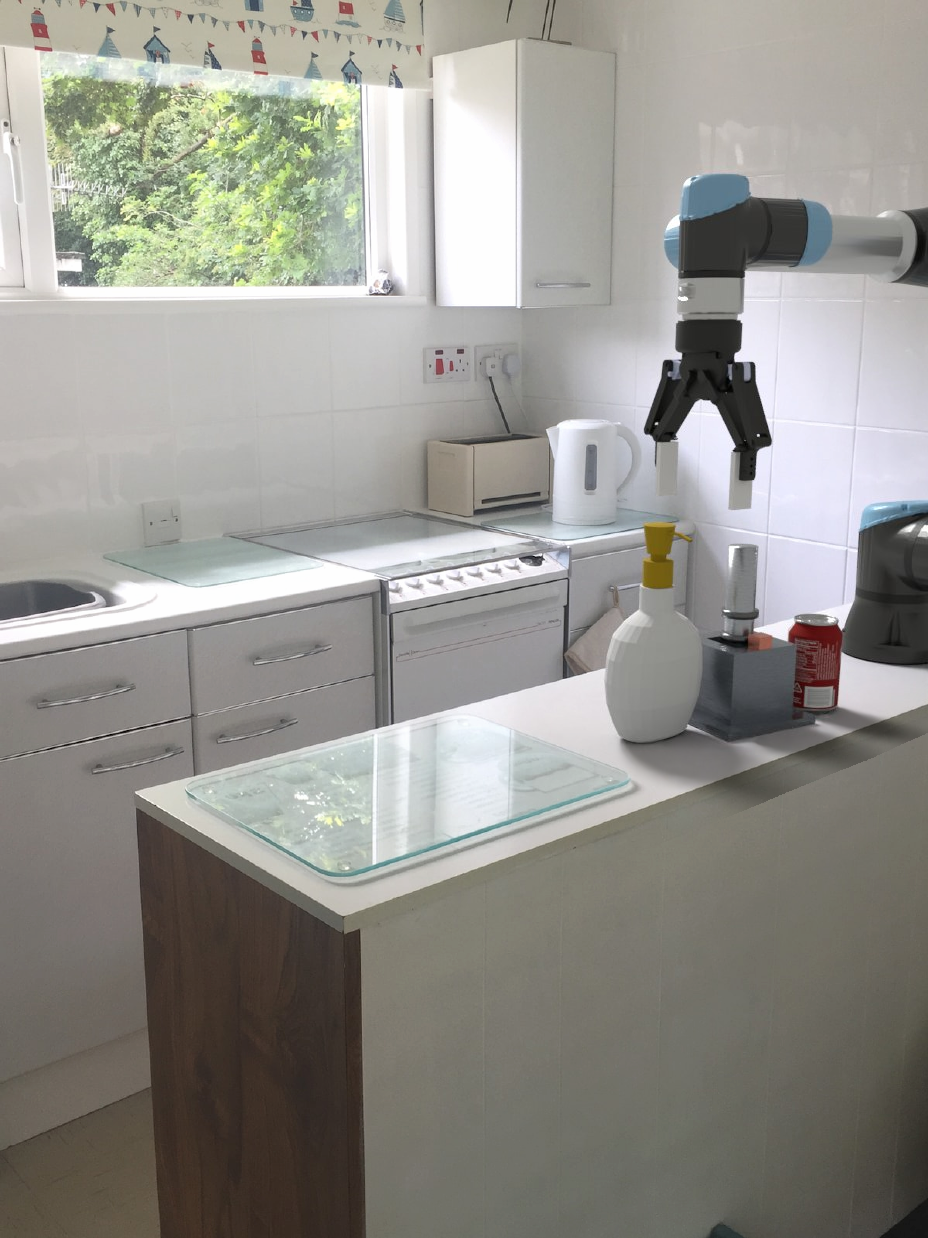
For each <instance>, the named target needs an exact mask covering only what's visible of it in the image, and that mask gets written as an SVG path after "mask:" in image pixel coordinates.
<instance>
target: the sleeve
mask: <svg viewBox="0 0 928 1238" xmlns="http://www.w3.org/2000/svg"><path fill="white" fill-rule="evenodd" d="M720 631H721V630H716V631H711V632H709V631H708V632H705V633H699V636H700V640H701V644H702V662H703V671H702V678H701V684H700V691H699V696H698V699H697V702H696V704H695V707H694V710H693V713H692V715H691V718H690V720H689V722H688V725H691V726H693V727H695V728H697V729H700V730H702V731H704V732H706V733H708V734H711V735H713V736H715V737H717V738H720V739H722V740H724V741H727V742H732V741H736V740H741V739H745V738H751V737H755V736H761V735H765V734H770V733H776V732H780V731H784V730H790V729H793V728H799V727H804V726H810V725H815V724H816V717H817V716H816V714H810V713H807V712H805V711H802V710H799V709H797V708H794V707H793V696H794V680H795V665H796V649H797V644H794V643H791V642H787V641H788V640H785V639H784V640H783V639H780V638H777V637H774V636H773V635H771V634H768V633H766V632H765V633H764V632H761V631H759V632H758V631H756V632H757V633H752V634H749V638H748V646H747V647H741V648H734V647H731V646H728V645H725V644H724V641H722V640H721V639H720Z"/></svg>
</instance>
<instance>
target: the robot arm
mask: <svg viewBox="0 0 928 1238" xmlns="http://www.w3.org/2000/svg"><path fill="white" fill-rule="evenodd" d="M663 249H664V252H665V256H666V258H667V260H668V262H669V263H670V264H671V265H672V266H673V267H674V268H676V269H677V271H678V273H677V275H678V276H677V278H678V280H677V281H678V283H677V301H676V303H677V304H676V313H677V314H678V315H682V316H681V319H682V320H681V319H678V320H677V322H675V340H674V341H675V343H674V349H675V351H676V352H677V353H680V354H681V359H679V358H678V359H674V358H673V359H664V360H663V362H662V366H661V376H660V381H659V383H658V386H657V389H656V391H655V394H654V398H653V400H652V403H651V406H650V409H649V413H648V415H647V418H646V421H645V425H644V427H643V433H644V435H646V436H651V438H652V440H653V442H654V443H655V444H654V445H655V446H654V466H655V492H654V493H655V494H654V496H657V497H663V496H674V495H675V496H676V495H677V489H678V488H677V487H678V468H679V467H678V466H679V465H678V463H679V461H678V460H679V459H678V458H679V441H678V440H679V438H678V436H677V434H678V432H679V431H680V428H681V427H682V426H683V424H684V422H685V420H686V419H687V418H688V417H687V416H688V415H689V414H690V411H691V410H692V409H693V407H694V406H695V404H696V403H697V402H699V401H700V400H702V401H704V402H705V401H710V403H711V404H712V405H714V406H716V408H717V411H718V412H719V414H720V417H721V420H722V421H723V423H724V426H725V427H726V429H727V432H728V433H729V435H730V437H731V439H732V441H733V444H734V446H735V447H734V448H733V449H732V451H730V471H729V489H728V507H727V508H728V510H730V511H739V510H750V509H752V500H753V499H752V495H753V483H754V482H753V481H755V478H756V475H757V472H756V469H757V460H758V459H757V458H758V457H757V456H758V451H760V450H761V449H764V448H768V447H771V446H772V443H773V438H772V435H771V432H770V427H769V424H768V421H767V418H766V417H767V416H766V414H765V410H764V407H763V406H764V405H763V403H762V398H761V395H760V391H759V388H758V385H757V381H756V380H757V379H756V377H757V373H756V372H757V371H756V363H755V362H754V361H735V355H736V353H739V352H740V351H741V349H742V344H743V343H742V340H743V325H744V324H743V322H741V321H742V320H741V319H738V316H739V315H743V313H744V309H745V307H744V306H745V285H746V284H745V283H746V279H745V278H746V272H771V273H773V272H775V273H800V274H801V273H804V274H806V273H807V274H808V273H809V274H841V275H868V276H869V277H870V278H871V279H872V280H874V281H875V282H878V283H884V284H885V283H886V284H887V283H888V284H901V285H908V286H916V287H923V288H928V206H927V207H922V208H921V207H920V208H914V209H908V210H907V209H906V210H905V209H903V210H899V209H897V210H896V209H890V210H885V211H883V212H881V213H879V214H878V215H876V216H867V215H866V216H864V215H863V216H861V215H847V214H846V215H844V214H830V211H829V210H828V208H827V207H826V206H825V205H823V204H822V203H820V202H818V201H814V200H807V199H804V198H802V197H798V198H797V199H796V198H777V197H775V198H774V197H756V196H752V193H751V191H750V180H749V177H747V176H745V175H743V174H742V175H741V174H739V173H708V174H698V175H693V176H691V177H689V178H688V179H686V180H685V181H684V183H683V186H682V190H681V197H680V207H679V213H678V214H677V215H676V216H674V217H672V219H671V220H670V221H669V222H668V225H667V226H666V229H665V231H664V236H663ZM656 423H657V424H656ZM758 435H759V436H758ZM857 540H858V542H857V543H858V544H857V558H856V560H857V561H856V574H855V575H856V576H855V591H854V592H855V593H854V600H853V602H852V606H851V607H850V610H849V613H848V614H847V616H846V617H847V618H846V620H845V623H844V627H843V628H842V629H841V631H842V633H843V640H842V652H843V653H844V654H847V655H849V656H851V657H855V658H859V659H862V660H868V661H873V662H880V663H888V664H902V665H904V664H905V665H906V664H907V665H908V664H909V665H910V664H913V665H915V664H925V663H926V664H927V663H928V499H921V500H920V499H919V500H917V499H916V500H897V501H896V500H895V501H885V502H884V501H883V502H875V503H870V504H868V505H867V506H865V508H864V509H863V510H862V513H861V519H860V525H859V528H858V539H857Z"/></svg>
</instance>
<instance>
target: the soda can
mask: <svg viewBox="0 0 928 1238" xmlns="http://www.w3.org/2000/svg"><path fill="white" fill-rule="evenodd" d="M793 620H794V622H793V623H792V624H791V626H789V628H788V630H787V640H786V641H787V642H791V643H794V644H797V649H796V665H795V680H794V696H793V707H794V708H797V709H799V710H802V711H805V712H807V713H810V714H813V715H819V714H826V713H829V712H830V711H832V710H834V709H836V708H837V707H838V704H839V691H840V678H841V664H842V663H841V662H842V652H843V651H842V640H843V633H842V629H841V628H840V626H839V622H840V620H839V618H837V617H836V616H832V615H828V614H823V613H801V614H797V615H795V616H794V617H793Z"/></svg>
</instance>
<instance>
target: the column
mask: <svg viewBox="0 0 928 1238" xmlns="http://www.w3.org/2000/svg"><path fill="white" fill-rule="evenodd" d="M727 548H728V550H727V569H726V587H725V588H726V591H725V606H722V607H721V608H720V617H723V618H724V628H723V629H722V630H719V631H720V639H721V640H722V641H724V644H725V645H728V646H731V647H734V648H741V647H747V646H748V638H749V634H752V633H757V632H758V631H755V619H759V617H760V615H759V613H760V609H759V608H757V607H756V598H757V595H756V594H757V581H758V577H757V576H758V562H759V546H758V545H757V544H751V543H731V544H729V545H728V546H727Z"/></svg>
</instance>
